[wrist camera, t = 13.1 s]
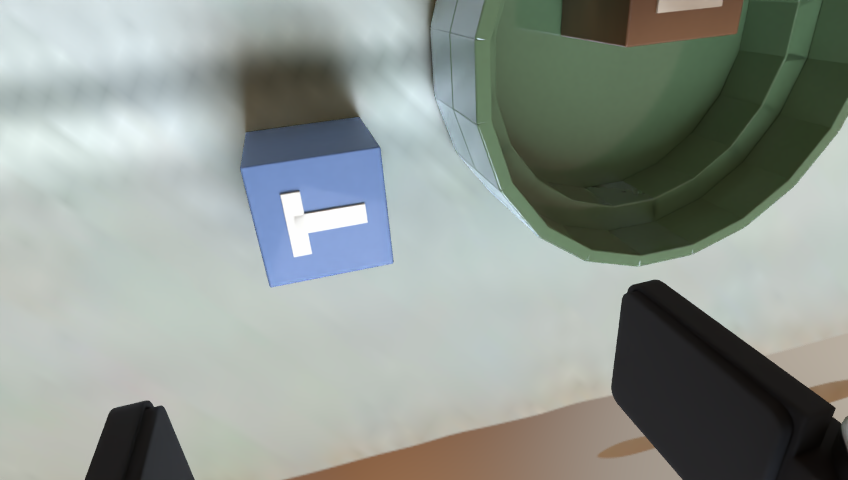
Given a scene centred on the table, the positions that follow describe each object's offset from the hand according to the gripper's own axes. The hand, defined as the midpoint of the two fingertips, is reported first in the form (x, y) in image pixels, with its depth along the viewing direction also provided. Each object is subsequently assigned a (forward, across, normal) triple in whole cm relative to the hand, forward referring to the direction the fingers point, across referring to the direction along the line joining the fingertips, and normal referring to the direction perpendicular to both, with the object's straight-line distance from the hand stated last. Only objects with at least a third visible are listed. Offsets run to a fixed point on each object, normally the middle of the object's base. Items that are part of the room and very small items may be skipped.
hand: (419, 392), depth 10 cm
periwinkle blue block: (+16, +1, 0) cm, 16 cm away
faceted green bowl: (+15, -14, -4) cm, 21 cm away
